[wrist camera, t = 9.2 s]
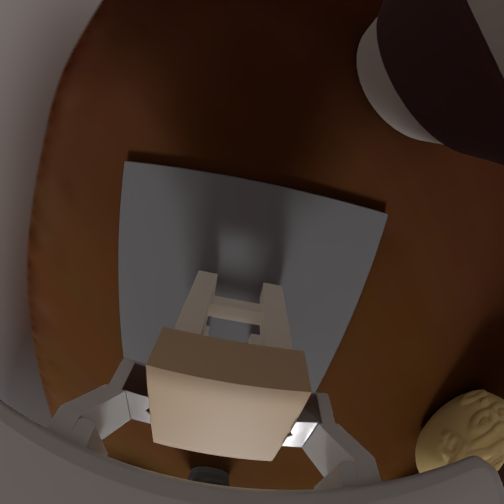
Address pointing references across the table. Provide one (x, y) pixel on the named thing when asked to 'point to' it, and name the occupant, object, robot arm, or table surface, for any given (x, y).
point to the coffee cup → (438, 72)
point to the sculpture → (463, 432)
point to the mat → (239, 256)
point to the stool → (226, 377)
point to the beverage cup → (209, 475)
